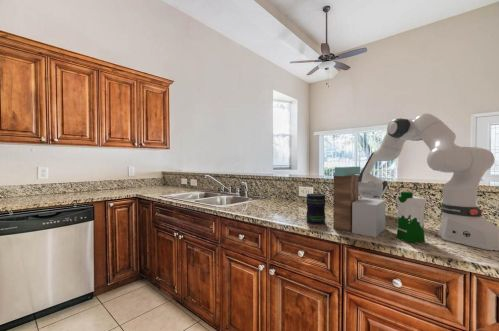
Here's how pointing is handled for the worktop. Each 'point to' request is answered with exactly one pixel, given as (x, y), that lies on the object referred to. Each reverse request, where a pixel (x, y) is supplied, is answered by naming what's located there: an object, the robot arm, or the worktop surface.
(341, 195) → the brown tall block
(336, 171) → the teal tile
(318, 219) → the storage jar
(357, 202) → the grey step
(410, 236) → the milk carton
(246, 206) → the worktop surface
